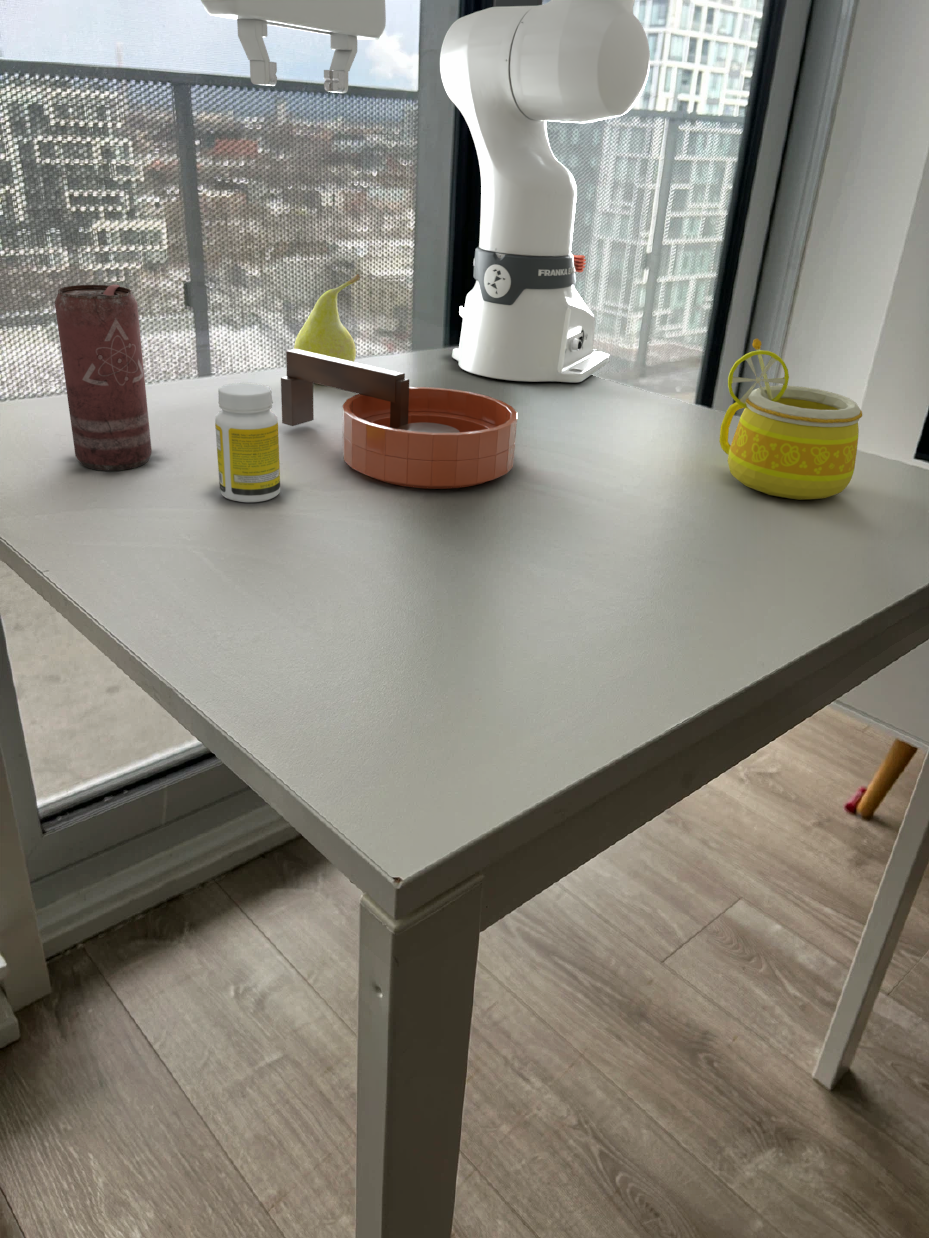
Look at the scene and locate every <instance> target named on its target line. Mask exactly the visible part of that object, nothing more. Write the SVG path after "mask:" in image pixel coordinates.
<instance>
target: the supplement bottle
mask: <svg viewBox="0 0 929 1238" xmlns="http://www.w3.org/2000/svg"><path fill="white" fill-rule="evenodd" d="M217 392H218V394H217V395H218V396H217V397H218V407H219V409H220V411H219V412H217V413H216V415H215V418H214V425H215V426H214V427H215V437H216V438H215V440H216V454H217V470H218V471H217V472H218V484H219V493H220V494H221V496H222V497H224V498H225V499H228V500H230V501H235V502H240V503H261V502H265V501H269V500H271V499H274V498H275V497H277V496H278V495H279V494H280V492H281V469H280V468H281V466H280V464H281V463H280V441H279V437H280V436H279V420H278V416H277V414H276V413H275V412H274V411H272V410H271V409H273V404H274V399H273V389H272V388H271V387H270V386H269V385H267V384H262V383H257V382H233V383H227V384H223V385H221V386H219V387H218V390H217Z"/></svg>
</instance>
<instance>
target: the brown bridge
mask: <svg viewBox="0 0 929 1238" xmlns="http://www.w3.org/2000/svg"><path fill="white" fill-rule="evenodd" d="M285 355H286V356H285V363H286V376H282V377H280V397H281V399H280V400H281V424H283V425H287V426H291V427H294V426H295V427H296V426H298V425H301V424H302V425H303V424H304V423H305V424H306V423H308V422H312V421H314V420H315V419H314V418H315V417H314V416H315V415H314V414H315V413H314V408H315V407H314V384H316V385H322V386H324V387H325V386H326V387H328V388H333V389H337V390H340V391H341V390H342V391H346V392H350V393H353V394H356V395H357V394H361V395H365V396H369V397H373V398H377V399H381V400H386V401H390V428H395V429H401V430H407V431H417V432H429V433H460V432H459V430H457V429H456V428H454V427H451V426H448V425H444V424H438V423H424V422H423V423H410V424H408V411H409V387H410V379H409V378H406V373H405V372H401V371H396V370H391V369H387V368H383V367H379V366H374V365H370V364H365V363H361V362H356V361H354V362H352V361H348V360H343V359H339V358H334V357H330V356H326V355H321V354H317V353H312V352H308V351H304V350H299V349H294V348H292V349H288V350H286V351H285Z"/></svg>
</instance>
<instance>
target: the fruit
mask: <svg viewBox="0 0 929 1238" xmlns="http://www.w3.org/2000/svg"><path fill="white" fill-rule="evenodd" d="M361 278H362V277H361V275H360V274H359V273H357V274H356V275H355V276H354V277H352V278H351V279H350V280H348V281H346V282H344V283H342V284H341V285H339V286H337V287H336V288H330V289H328V290H326V291H325V292H324V293H323V294H321V296H319V298H318V299H317V301H316V302H315V304H314V306H313V309H312V310H311V312H310V314H309V315H308V318H306V320H305V321H304V324H303V325H302V326H301V328H300V330H299V332H298V333H297V335H296V338H295V341H294V345H293V346H294V347H293V349H299V350H304V351H308V352H312V353H317V354H321V355H326V356H330V357H334V358H339V359H343V360H348V361H352V362H356V361H355V360H356V356H357V350H356V349H357V347H356V344H355V341H354V338H353V337H352V335H351V333H350V332H349V331H348V329H347V327H345V326H344V325H343V323H342V322H341V319H340V314H339V309H338V294H339V293H340V292H341V291H342V290H344V289H345V288H346V287H348V286H350V285H353V284H355V283H356V282H358V281H359V280H360V279H361Z"/></svg>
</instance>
